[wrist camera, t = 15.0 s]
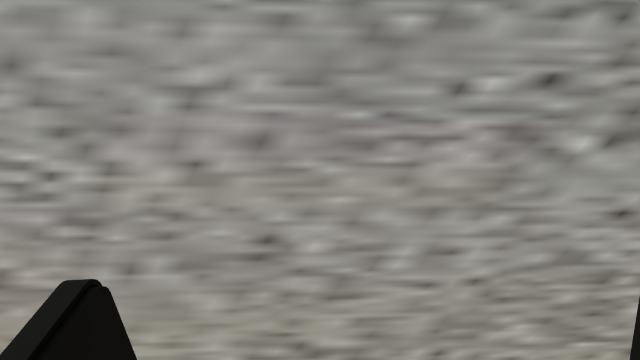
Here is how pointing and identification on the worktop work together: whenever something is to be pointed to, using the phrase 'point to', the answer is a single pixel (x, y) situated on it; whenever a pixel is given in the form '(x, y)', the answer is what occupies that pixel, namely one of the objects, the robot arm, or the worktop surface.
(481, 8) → the worktop surface
